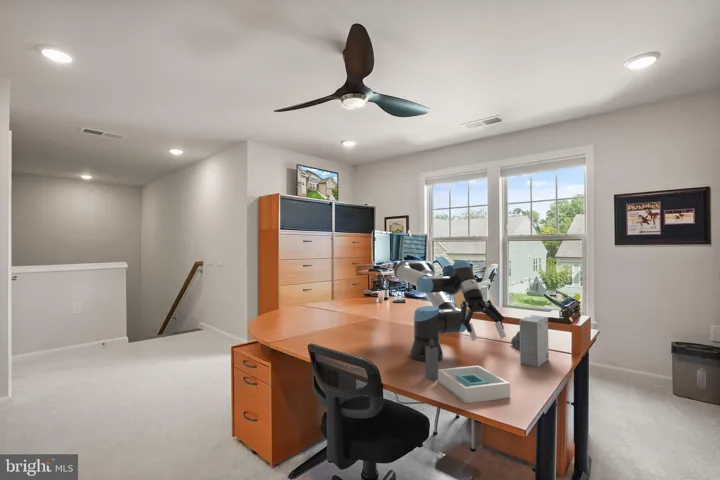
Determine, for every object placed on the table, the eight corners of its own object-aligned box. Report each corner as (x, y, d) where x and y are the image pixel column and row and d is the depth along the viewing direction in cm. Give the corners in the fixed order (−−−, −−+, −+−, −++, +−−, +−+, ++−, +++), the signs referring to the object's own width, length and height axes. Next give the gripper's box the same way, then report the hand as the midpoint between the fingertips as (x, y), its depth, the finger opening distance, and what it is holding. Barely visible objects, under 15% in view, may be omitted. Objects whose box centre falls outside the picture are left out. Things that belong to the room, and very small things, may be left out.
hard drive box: (531, 356, 162) (531, 314, 163) (549, 359, 157) (548, 317, 157) (519, 363, 151) (519, 319, 152) (537, 368, 146) (537, 321, 146)
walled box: (437, 382, 129) (437, 369, 129) (478, 378, 134) (478, 365, 134) (464, 403, 112) (464, 388, 112) (510, 397, 116) (510, 383, 117)
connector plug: (425, 376, 135) (425, 338, 136) (432, 375, 136) (432, 338, 137) (430, 380, 131) (430, 341, 131) (438, 379, 132) (438, 341, 132)
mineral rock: (510, 344, 183) (510, 325, 183) (532, 346, 178) (532, 327, 179) (511, 350, 171) (511, 330, 171) (535, 353, 166) (535, 333, 167)
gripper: (450, 288, 142) (466, 336, 129) (499, 287, 149) (520, 333, 136) (442, 296, 147) (458, 343, 135) (490, 295, 154) (509, 340, 142)
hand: (489, 338), depth 136 cm, fingers open, 13 cm apart
